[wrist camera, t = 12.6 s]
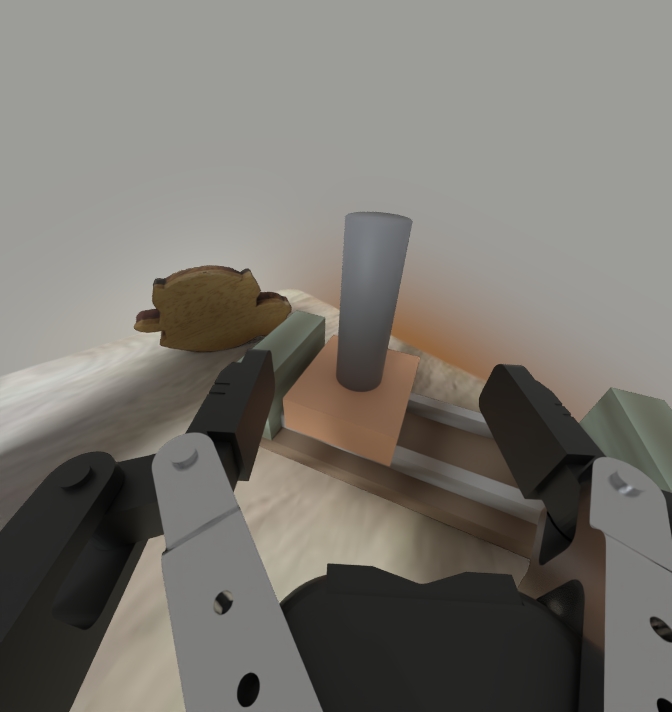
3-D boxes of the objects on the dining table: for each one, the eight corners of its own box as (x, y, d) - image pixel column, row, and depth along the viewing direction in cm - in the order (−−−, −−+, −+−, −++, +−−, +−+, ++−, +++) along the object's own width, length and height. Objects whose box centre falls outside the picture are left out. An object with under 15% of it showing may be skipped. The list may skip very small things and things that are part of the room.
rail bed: (242, 439, 23) (225, 371, 19) (299, 370, 31) (296, 310, 26) (653, 610, 16) (792, 566, 11) (596, 463, 23) (664, 400, 18)
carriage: (285, 426, 21) (264, 224, 12) (332, 360, 27) (339, 200, 19) (389, 466, 18) (452, 252, 10) (412, 383, 25) (461, 213, 17)
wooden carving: (283, 322, 39) (278, 250, 33) (295, 339, 36) (291, 262, 30) (150, 350, 33) (113, 267, 27) (150, 373, 29) (107, 284, 23)
